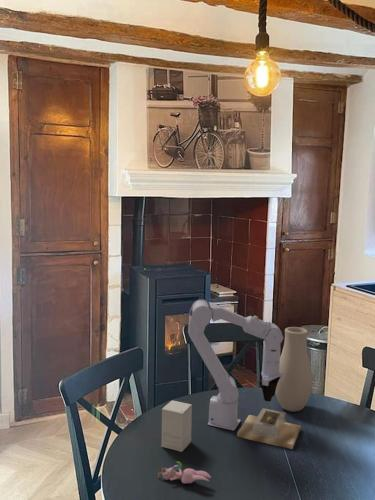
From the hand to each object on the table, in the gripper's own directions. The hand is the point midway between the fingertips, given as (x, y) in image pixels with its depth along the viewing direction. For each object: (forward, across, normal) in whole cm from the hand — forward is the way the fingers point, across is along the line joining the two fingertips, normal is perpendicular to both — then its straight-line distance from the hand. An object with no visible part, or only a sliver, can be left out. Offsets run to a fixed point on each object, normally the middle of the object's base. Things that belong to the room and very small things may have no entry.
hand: (269, 398), depth 174 cm
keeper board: (+9, -6, -2) cm, 11 cm away
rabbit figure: (+10, -43, +13) cm, 46 cm away
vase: (+10, +16, -5) cm, 19 cm away
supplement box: (+10, -26, +23) cm, 36 cm away
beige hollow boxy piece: (+8, -6, -2) cm, 10 cm away
